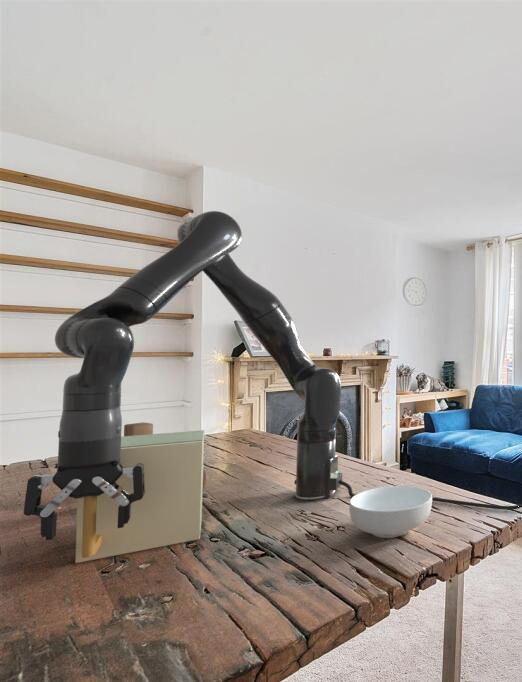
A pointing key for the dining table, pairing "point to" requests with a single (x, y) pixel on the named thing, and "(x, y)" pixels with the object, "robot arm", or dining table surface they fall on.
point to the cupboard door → (146, 504)
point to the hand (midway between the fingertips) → (87, 532)
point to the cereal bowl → (390, 510)
